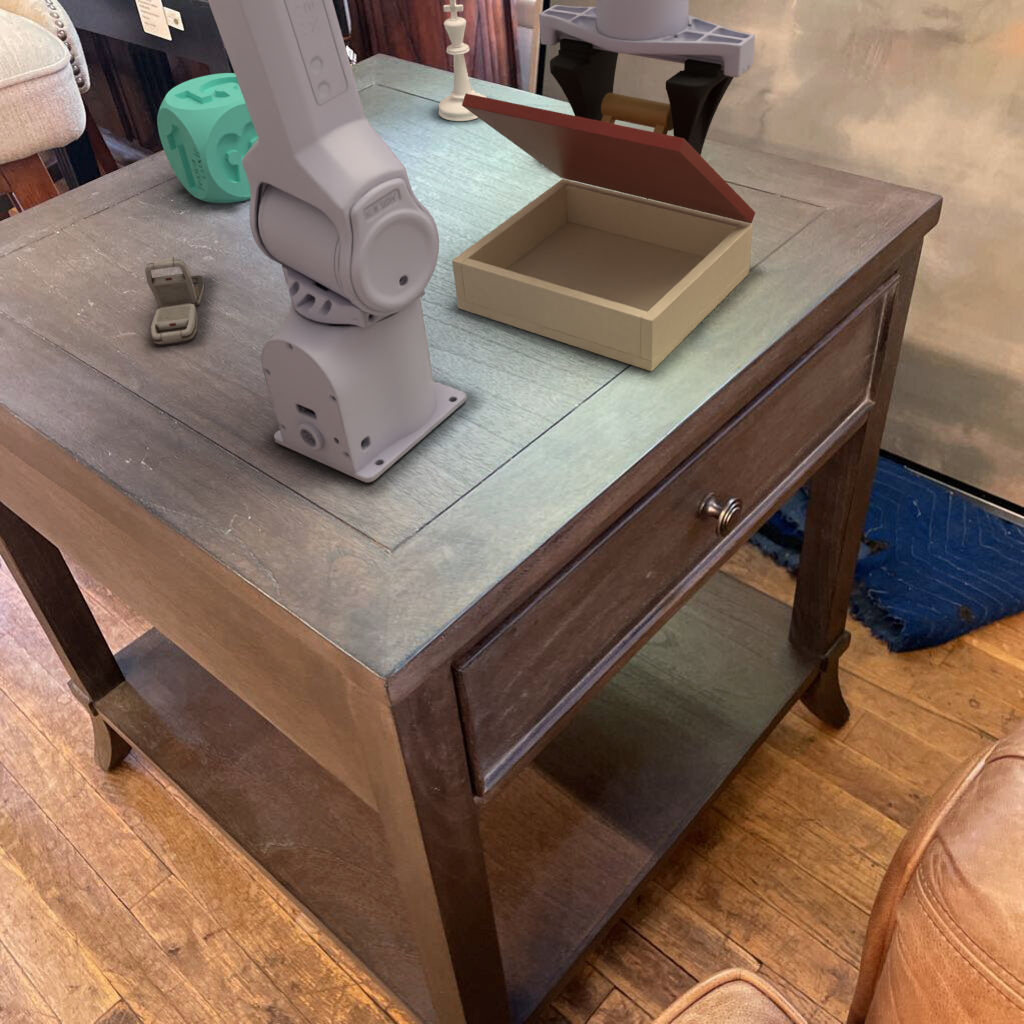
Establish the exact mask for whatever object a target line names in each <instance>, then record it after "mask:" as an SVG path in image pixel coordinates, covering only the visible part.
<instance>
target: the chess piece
mask: <svg viewBox="0 0 1024 1024" xmlns="http://www.w3.org/2000/svg"><path fill="white" fill-rule="evenodd" d="M443 12H444V13H450V17H449V18H447V19H446V20H444V21H443V26H444V29H445V31H446V33H447V36H448V39H449V40H450V43H451V44H449V45H448V46H447V47H446V50H445V51H446V54H448V55H451V56H453V57H452V58H453V88H452V89H453V90H452V91H451V92H450V94H449V95H448V96H446V97H444V98H443V99H442V100H441V101H440V102H439V103H438V115H439V116H440V118H442V119H444V120H446V121H452V122H466V121H467V122H468V121H474V120H477V119H479V118H478V117H477V116H476V115H474V114H473V113H471V112H470V111H469V110H467V109H466V108H465V107H463V106H462V103H463V100H464V97H465V94H471V95H476V96H481V97H486V98H488V96H486V95H484V94H483V93H478V92H476V91H475V90H474V89H473V88H472V85H471V82H470V78H469V74H468V69H467V65H466V64H467V63H466V59H465V58H466V57H465V54H467V53H469V52H470V46H469V44H467V43H464V38H465V31H466V28H467V27H466V26H467V20H466V19H465V18H464V17H461V16H458V12H461V13H462V12H464V4H457V0H449V4H444V5H443Z"/></svg>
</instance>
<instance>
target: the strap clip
mask: <svg viewBox="0 0 1024 1024" xmlns="http://www.w3.org/2000/svg"><path fill="white" fill-rule="evenodd" d="M170 268H179V269H180V270H181V272H182V273H177V274H171V275H164V276H155V277H153V276H152V271H155V270H162V269H170ZM144 272H145V277H146V278H145V279H146V283H147V284H148V287H149V288H150V291H151V293H152V295H153V297H154V299H155V301H156V303H157V305H158V306H159V307H160V308H157V309H156V310H155V312H154V316H153V319H152V321H151V325H150V331H151V337H152V341H153V343H154V344H156V345H162V344H164V345H165V344H171V343H177V342H184V341H188V340H191V339H193V338H194V337H195V335H196V334H197V332H198V318H199V317H198V316H199V314H198V311H197V308H196V306H199V305H200V304H201V301H202V297H203V294H204V290H205V283H204V278H203V276H202V275H201V274H200V275H199V274H198V275H192V274H191V271H190V270H189V268H188V266H187V264H186V263H185V262H184V260H182V259H175V257H167V258H160V259H154V260H153V262H150V263H146V265H145V268H144Z"/></svg>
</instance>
